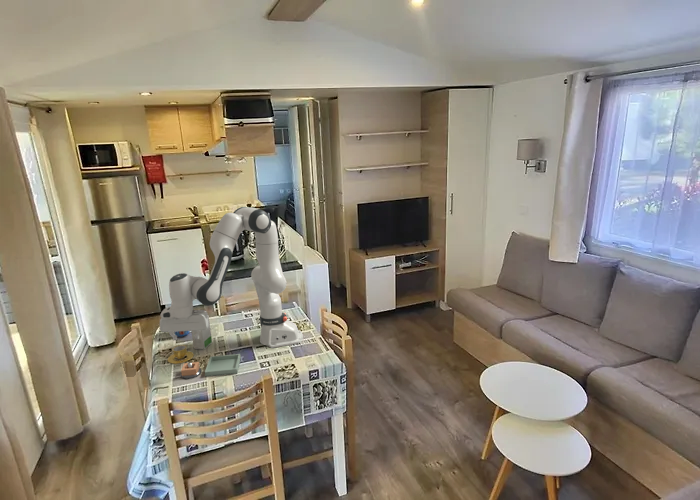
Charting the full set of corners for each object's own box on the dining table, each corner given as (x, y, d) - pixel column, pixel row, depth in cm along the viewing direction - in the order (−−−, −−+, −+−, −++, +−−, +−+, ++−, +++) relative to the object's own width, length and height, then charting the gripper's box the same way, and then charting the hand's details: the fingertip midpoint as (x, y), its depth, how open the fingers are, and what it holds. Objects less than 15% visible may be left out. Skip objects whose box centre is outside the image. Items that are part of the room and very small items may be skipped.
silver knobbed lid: (203, 367, 200) (202, 357, 198) (199, 378, 191) (197, 367, 190) (183, 369, 198) (181, 359, 197) (178, 379, 190) (176, 369, 188)
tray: (240, 358, 207) (240, 353, 206) (237, 373, 193) (236, 369, 193) (210, 361, 205) (210, 356, 204) (205, 376, 192) (204, 372, 191)
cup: (169, 354, 213) (167, 344, 212) (194, 350, 216) (193, 340, 215) (166, 366, 202) (164, 355, 201) (193, 362, 205) (191, 351, 204)
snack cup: (164, 335, 233) (161, 318, 230) (179, 327, 242) (177, 311, 239) (185, 341, 226) (182, 323, 223) (200, 332, 235) (197, 315, 233)
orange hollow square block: (199, 367, 198) (198, 361, 197) (196, 374, 192) (195, 369, 191) (185, 368, 197) (184, 363, 196) (181, 376, 191) (181, 370, 190)
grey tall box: (204, 350, 216) (200, 321, 212) (192, 349, 217) (188, 320, 213) (212, 342, 224) (209, 314, 220) (201, 341, 225) (197, 314, 221)
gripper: (208, 306, 191) (211, 334, 195) (161, 308, 189) (165, 337, 193) (205, 312, 185) (208, 341, 189) (156, 314, 183) (160, 343, 187)
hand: (186, 339), depth 191 cm, fingers open, 8 cm apart
